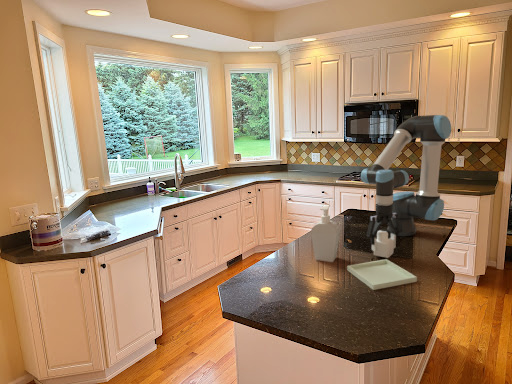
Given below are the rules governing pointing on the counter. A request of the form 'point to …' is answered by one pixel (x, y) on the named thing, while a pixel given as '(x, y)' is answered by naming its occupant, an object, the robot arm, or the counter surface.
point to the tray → (381, 274)
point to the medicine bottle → (384, 244)
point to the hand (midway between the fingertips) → (383, 248)
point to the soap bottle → (325, 237)
